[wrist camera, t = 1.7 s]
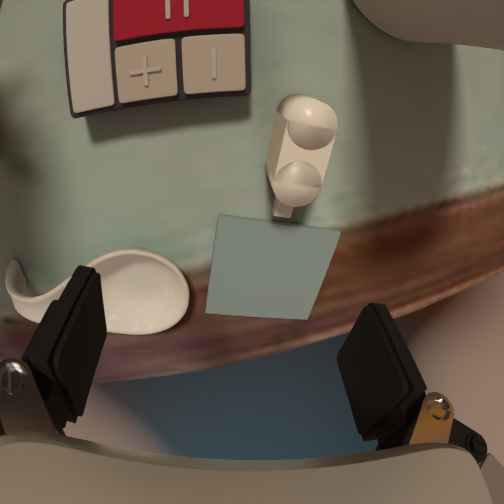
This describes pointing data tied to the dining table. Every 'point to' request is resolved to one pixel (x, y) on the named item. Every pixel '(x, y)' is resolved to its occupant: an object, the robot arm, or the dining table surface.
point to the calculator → (154, 52)
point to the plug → (299, 151)
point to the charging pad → (267, 267)
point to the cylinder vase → (439, 20)
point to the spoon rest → (119, 291)
